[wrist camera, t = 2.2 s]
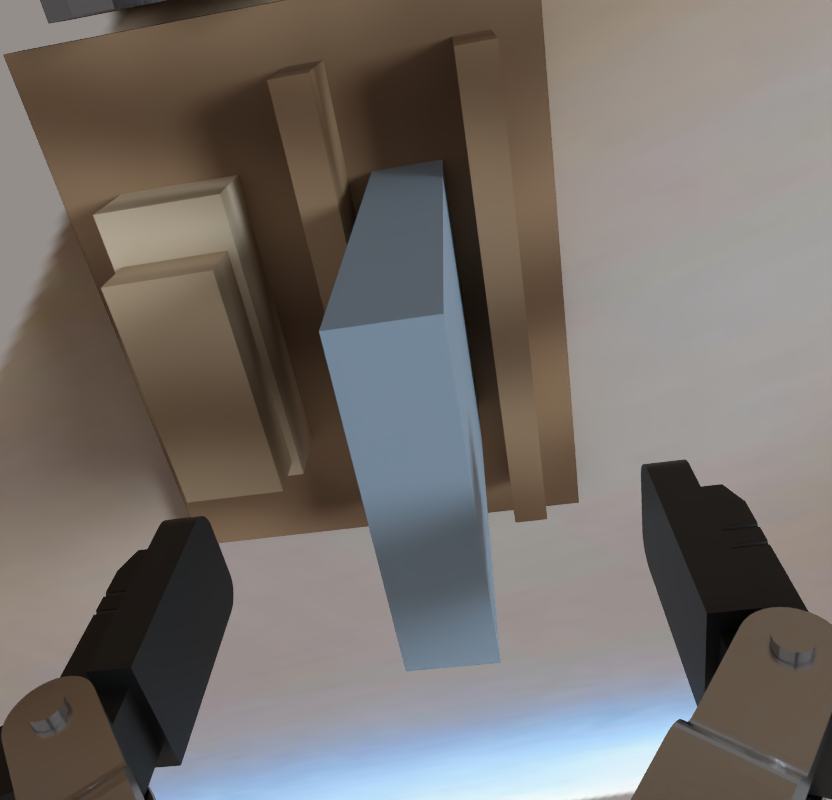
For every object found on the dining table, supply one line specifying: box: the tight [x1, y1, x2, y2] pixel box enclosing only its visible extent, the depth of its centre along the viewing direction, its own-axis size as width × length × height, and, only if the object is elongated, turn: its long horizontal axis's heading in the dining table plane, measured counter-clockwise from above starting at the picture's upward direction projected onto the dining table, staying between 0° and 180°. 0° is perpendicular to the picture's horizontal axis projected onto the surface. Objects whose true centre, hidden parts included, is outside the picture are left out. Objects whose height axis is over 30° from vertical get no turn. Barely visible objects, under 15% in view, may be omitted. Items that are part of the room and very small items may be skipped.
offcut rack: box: [4, 0, 579, 543], centre depth 23 cm, size 17×14×4 cm
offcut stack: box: [93, 175, 313, 503], centre depth 22 cm, size 9×4×4 cm, turn 10°
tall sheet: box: [319, 160, 500, 671], centre depth 18 cm, size 8×2×10 cm, turn 9°
